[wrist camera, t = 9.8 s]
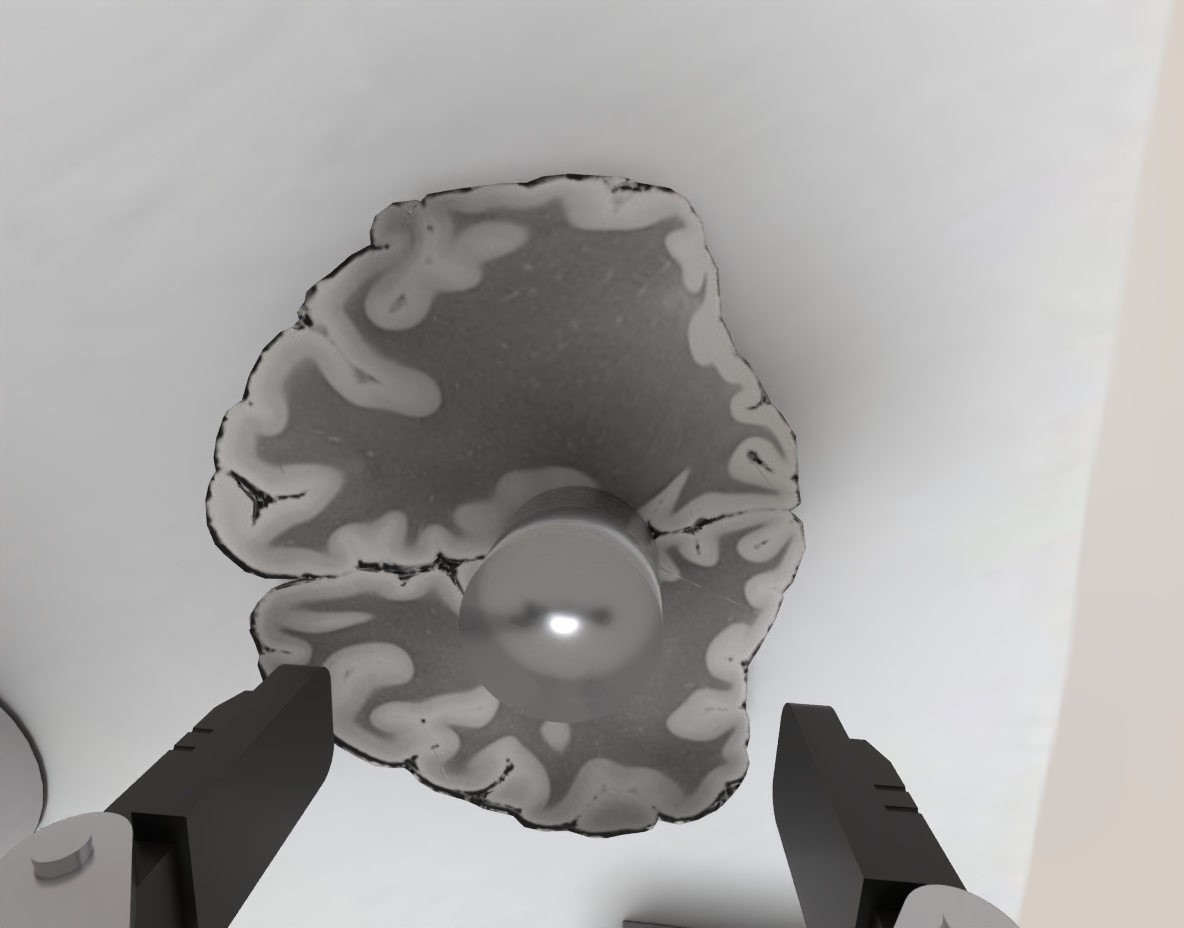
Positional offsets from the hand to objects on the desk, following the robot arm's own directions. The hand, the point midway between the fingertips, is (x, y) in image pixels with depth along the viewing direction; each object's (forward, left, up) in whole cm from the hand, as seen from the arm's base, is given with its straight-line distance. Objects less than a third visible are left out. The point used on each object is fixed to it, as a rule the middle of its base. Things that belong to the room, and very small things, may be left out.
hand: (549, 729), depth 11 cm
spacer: (0, 0, -7) cm, 7 cm away
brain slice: (-2, +2, -10) cm, 11 cm away
